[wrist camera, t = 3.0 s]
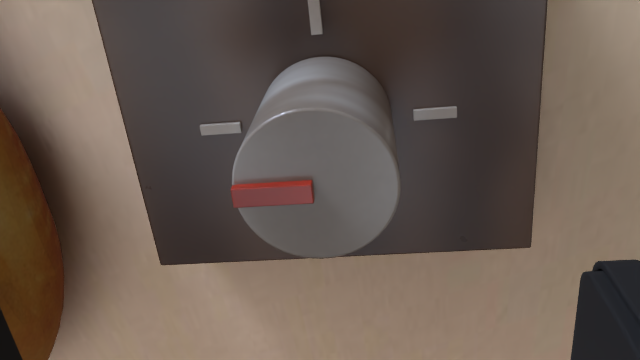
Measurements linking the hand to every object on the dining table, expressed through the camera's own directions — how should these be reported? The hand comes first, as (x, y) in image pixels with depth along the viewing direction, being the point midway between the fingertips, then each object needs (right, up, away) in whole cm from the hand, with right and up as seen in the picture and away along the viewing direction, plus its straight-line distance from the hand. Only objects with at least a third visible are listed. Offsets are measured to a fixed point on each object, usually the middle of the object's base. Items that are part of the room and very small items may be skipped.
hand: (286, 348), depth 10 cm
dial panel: (+1, +6, +13) cm, 14 cm away
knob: (+1, +5, +10) cm, 11 cm away
